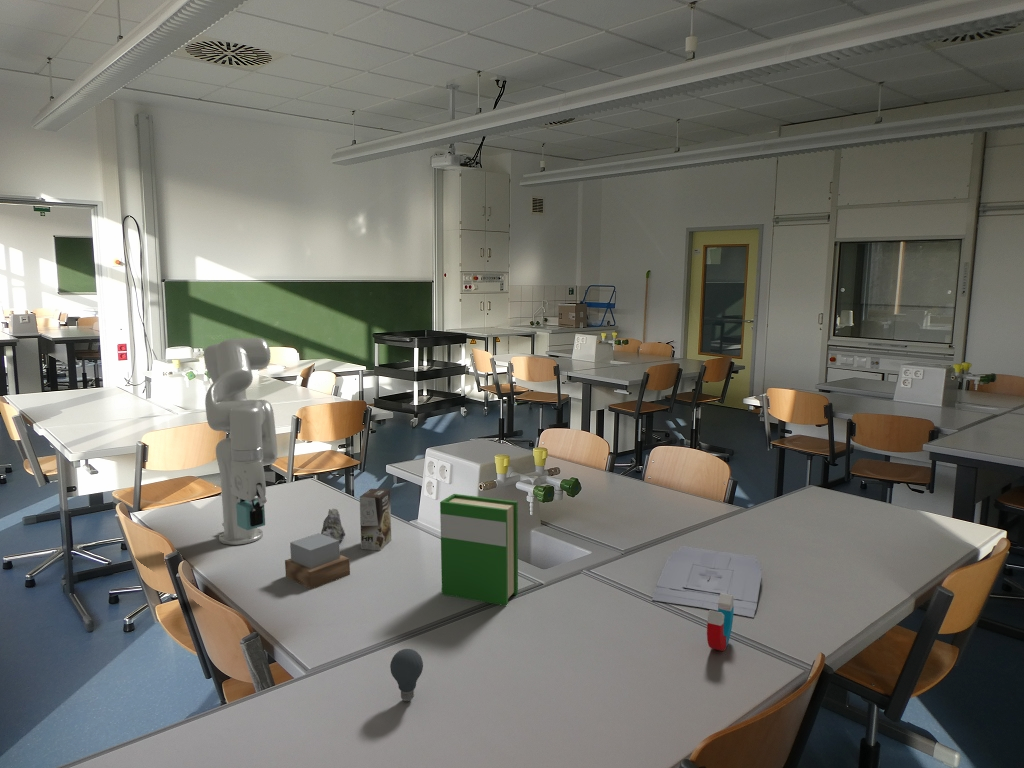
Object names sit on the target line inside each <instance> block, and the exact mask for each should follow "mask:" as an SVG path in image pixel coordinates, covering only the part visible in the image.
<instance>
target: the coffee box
mask: <svg viewBox="0 0 1024 768" xmlns="http://www.w3.org/2000/svg"><path fill="white" fill-rule="evenodd" d="M391 513H392V511H391V489H389V488H369V489H368V490H367V491H366V492H365V493H363V494H362V495H360V496H359V515H360V516H359V521H360V546H361V547H360V549H361V550H371V551H382V550H383V548H384V547H386V546H387V545H388V544H389V543H390V542H391V541H392V515H391Z"/></svg>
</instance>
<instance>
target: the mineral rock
mask: <svg viewBox="0 0 1024 768" xmlns="http://www.w3.org/2000/svg"><path fill="white" fill-rule="evenodd" d="M340 516H341V515H340V513H339V511H338V509H337V508H331V509H328V513H327V516H326V517H325V519H324V520H323V522H322V523H323V524H322V529H321V532H320V534H323V535H325V536H328V537H331V538H333V539H336V540H339V543H340V542H342V540H343V539H344V538H345V536H346V533H345V529H344V527H343V525H342V521H341V517H340Z"/></svg>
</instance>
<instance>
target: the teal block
mask: <svg viewBox="0 0 1024 768" xmlns="http://www.w3.org/2000/svg"><path fill="white" fill-rule="evenodd" d="M257 502H258V500H257V501H254V505H255V504H256V503H257ZM236 509H237V526H239V527H241V528H243V529H245V530H250V529H254V528H260V527H264V526H266V517H265V516H266V515H265V514H266V513H265V512H266V511H265V505H264V506H263V509H262V511H263V524H260V525H256V526H253V527H252V526H251V525H250V511H251V506H250V501H244V502H240V503H236Z"/></svg>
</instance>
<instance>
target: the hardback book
mask: <svg viewBox="0 0 1024 768" xmlns="http://www.w3.org/2000/svg"><path fill="white" fill-rule="evenodd" d="M518 505H519V503H518V501H517V500H509V499H501V498H500V499H499V498H491V497H485V496H483V497H482V496H474V495H469V494H468V495H467V494H458V493H453V494H451V495H449V496H447V497H446V498H444V499H443V500H441V501H440V503H439V506H440V507H439V508H440V509H439V513H440V516H439V517H440V519H439V520H440V558H441V560H440V561H441V563H440V564H441V565H440V566H441V567H440V569H441V572H440V573H441V595H444V596H451V597H456V598H460V599H461V598H462V599H466V600H472V601H477V602H483V603H489V604H494V605H498V604H501V605H500V606H504V605H507V604H508V605H509V599H510V597H511V596H512V595H513V596H517V595H518V594H519V558H518V557H519V537H518V536H519V532H518V531H519V529H518V528H519V524H518V523H519V522H518V521H519V518H518V517H519V514H518V512H519V511H518V510H519V508H518V507H519V506H518ZM508 605H507V606H508Z"/></svg>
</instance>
